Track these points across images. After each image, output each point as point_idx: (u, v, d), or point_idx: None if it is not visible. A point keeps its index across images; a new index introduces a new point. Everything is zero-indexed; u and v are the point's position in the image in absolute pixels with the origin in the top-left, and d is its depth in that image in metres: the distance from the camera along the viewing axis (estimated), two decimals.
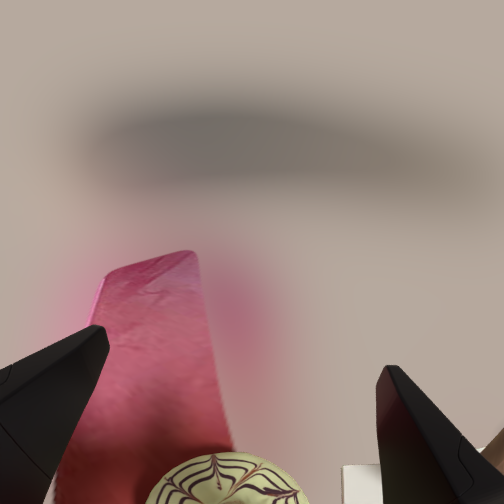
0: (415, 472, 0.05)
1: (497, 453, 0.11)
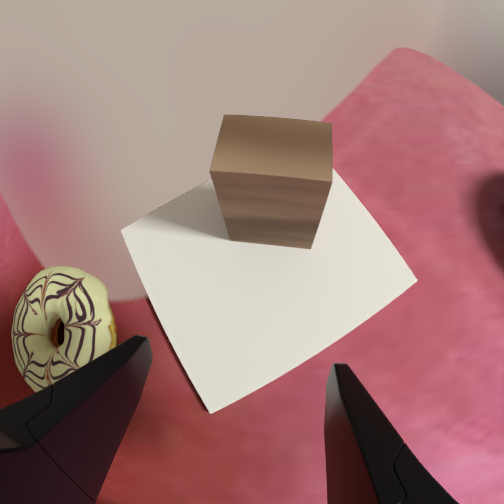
0: (350, 477, 0.05)
1: None
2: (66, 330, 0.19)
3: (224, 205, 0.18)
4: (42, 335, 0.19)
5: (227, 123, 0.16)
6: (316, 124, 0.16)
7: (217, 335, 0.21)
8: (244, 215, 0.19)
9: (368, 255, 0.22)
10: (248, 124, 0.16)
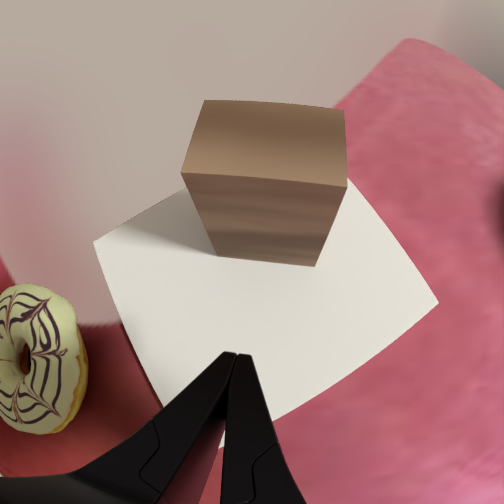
0: None
1: None
2: (31, 359, 0.15)
3: (205, 216, 0.14)
4: (9, 361, 0.15)
5: (207, 110, 0.12)
6: (324, 111, 0.12)
7: (201, 370, 0.17)
8: (231, 228, 0.15)
9: (383, 274, 0.18)
10: (234, 111, 0.12)
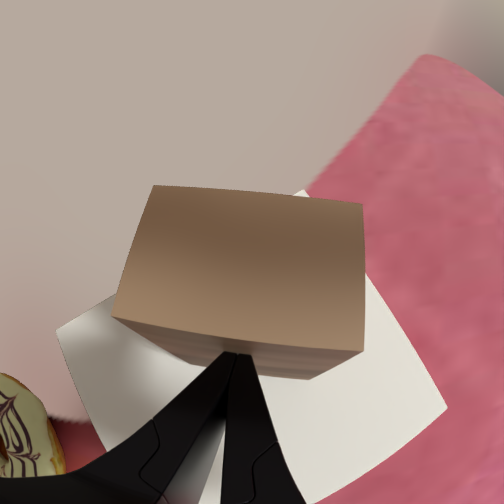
0: None
1: None
2: (7, 454, 0.11)
3: (162, 346, 0.10)
4: None
5: (155, 205, 0.08)
6: (332, 207, 0.08)
7: None
8: (199, 356, 0.11)
9: (388, 383, 0.14)
10: (194, 208, 0.08)
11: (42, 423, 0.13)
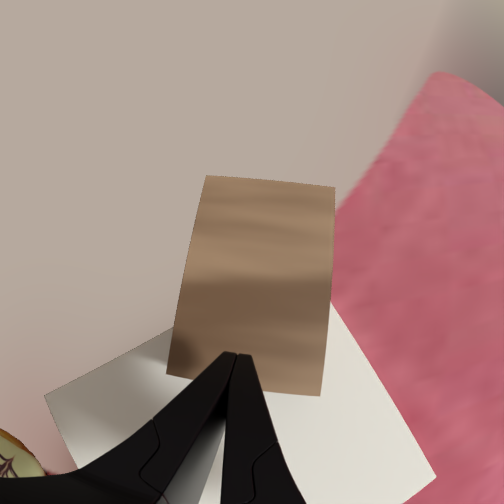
0: None
1: None
2: None
3: (195, 245, 0.13)
4: None
5: None
6: None
7: None
8: (216, 273, 0.13)
9: (378, 460, 0.13)
10: None
11: None
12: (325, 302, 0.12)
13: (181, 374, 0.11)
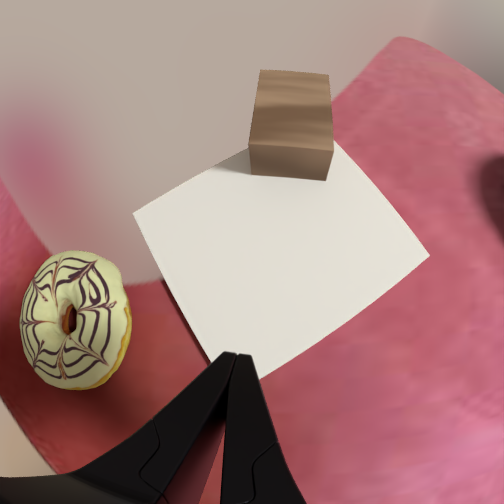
0: None
1: None
2: (79, 315, 0.19)
3: (259, 94, 0.23)
4: (53, 323, 0.19)
5: None
6: None
7: (236, 313, 0.21)
8: (272, 103, 0.22)
9: (381, 231, 0.22)
10: None
11: (119, 279, 0.21)
12: (329, 114, 0.22)
13: (257, 143, 0.21)
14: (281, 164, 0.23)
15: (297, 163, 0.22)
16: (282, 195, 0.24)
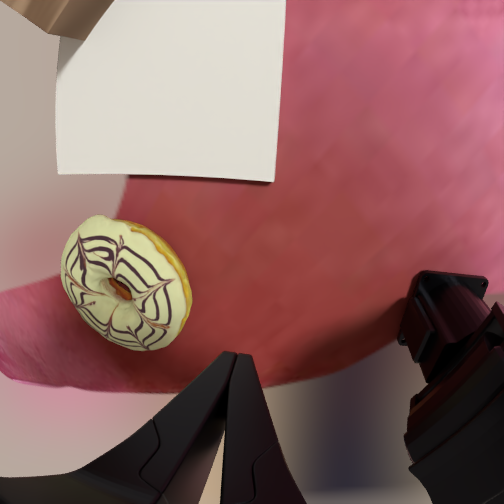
0: None
1: None
2: (117, 278, 0.19)
3: (16, 6, 0.10)
4: (117, 306, 0.21)
5: None
6: None
7: (198, 124, 0.17)
8: None
9: None
10: None
11: (105, 220, 0.19)
12: None
13: (52, 24, 0.11)
14: (89, 8, 0.13)
15: None
16: (120, 19, 0.14)
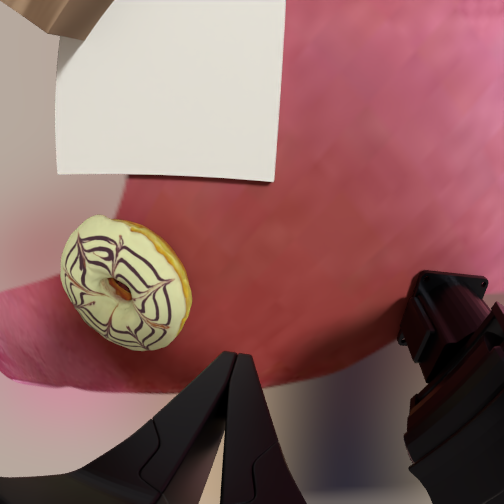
0: None
1: None
2: (117, 278, 0.19)
3: (15, 6, 0.10)
4: (116, 306, 0.21)
5: None
6: None
7: (198, 124, 0.17)
8: None
9: None
10: None
11: (104, 220, 0.19)
12: None
13: (52, 24, 0.11)
14: (88, 8, 0.12)
15: None
16: (120, 19, 0.14)
